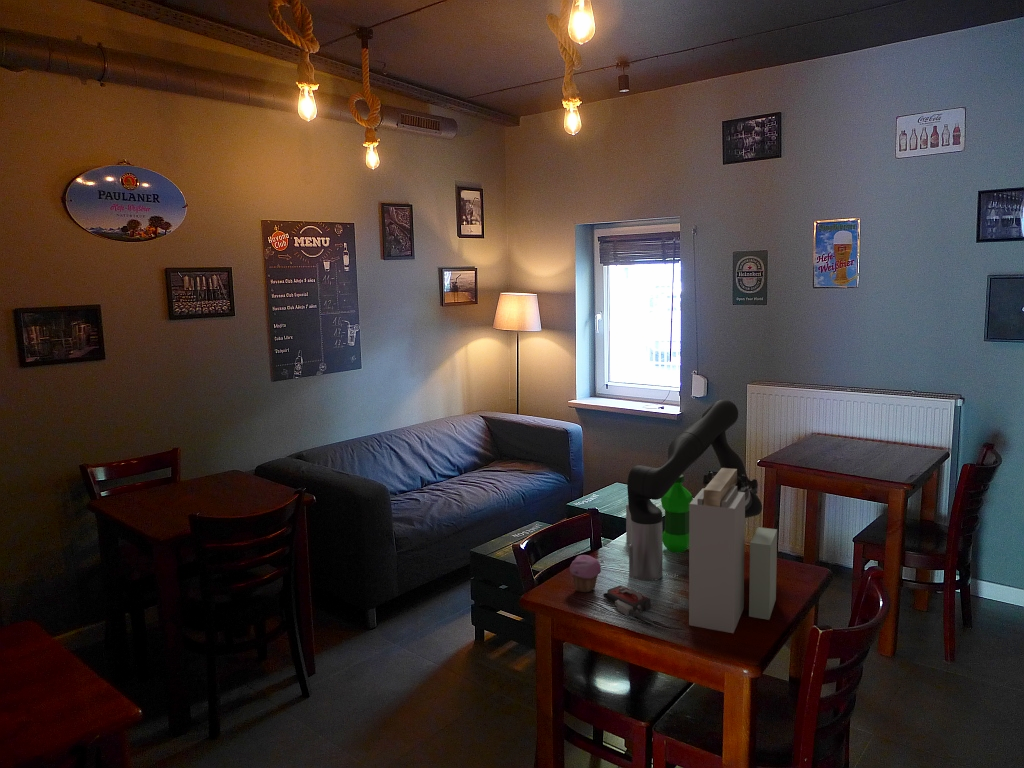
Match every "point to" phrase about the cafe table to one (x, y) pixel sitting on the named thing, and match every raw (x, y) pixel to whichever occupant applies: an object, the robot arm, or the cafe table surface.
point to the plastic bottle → (676, 517)
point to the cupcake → (585, 572)
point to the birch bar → (719, 486)
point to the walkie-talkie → (629, 601)
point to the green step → (762, 573)
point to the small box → (628, 524)
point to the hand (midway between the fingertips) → (726, 476)
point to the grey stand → (716, 562)
